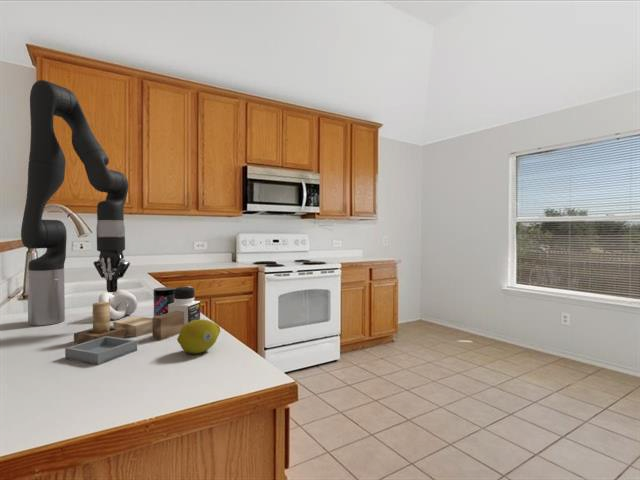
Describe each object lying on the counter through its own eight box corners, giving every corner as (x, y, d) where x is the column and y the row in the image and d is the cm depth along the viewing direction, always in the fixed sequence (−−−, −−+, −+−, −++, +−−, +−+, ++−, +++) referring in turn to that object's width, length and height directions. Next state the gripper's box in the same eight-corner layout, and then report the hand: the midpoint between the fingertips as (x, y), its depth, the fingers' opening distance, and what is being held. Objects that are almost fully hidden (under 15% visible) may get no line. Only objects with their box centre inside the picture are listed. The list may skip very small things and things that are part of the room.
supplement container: (150, 319, 123) (150, 288, 123) (171, 316, 127) (171, 286, 127) (157, 323, 118) (156, 291, 118) (178, 319, 122) (178, 289, 122)
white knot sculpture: (139, 312, 133) (139, 287, 133) (135, 319, 122) (135, 293, 122) (104, 314, 129) (103, 289, 129) (96, 322, 118) (96, 295, 118)
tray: (65, 358, 85) (65, 348, 85) (106, 345, 95) (106, 335, 95) (98, 365, 81) (98, 353, 81) (137, 350, 91) (137, 340, 91)
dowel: (89, 340, 99) (89, 304, 98) (102, 336, 102) (102, 301, 102) (100, 342, 97) (99, 305, 97) (113, 338, 101) (113, 302, 101)
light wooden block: (113, 333, 107) (113, 321, 107) (137, 327, 114) (137, 316, 114) (136, 338, 103) (136, 325, 103) (160, 331, 110) (159, 319, 110)
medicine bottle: (188, 328, 112) (188, 289, 111) (167, 327, 113) (167, 288, 113) (200, 322, 119) (200, 286, 118) (180, 321, 120) (180, 285, 120)
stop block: (152, 339, 101) (152, 317, 100) (176, 330, 109) (175, 310, 109) (161, 340, 100) (160, 318, 99) (184, 331, 108) (184, 311, 108)
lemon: (181, 361, 84) (180, 326, 84) (172, 351, 90) (172, 319, 90) (226, 352, 90) (226, 320, 90) (215, 344, 97) (215, 314, 96)
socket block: (74, 342, 97) (73, 333, 97) (104, 333, 106) (104, 325, 106) (98, 346, 94) (98, 336, 94) (127, 336, 102) (127, 328, 102)
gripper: (83, 235, 110) (85, 292, 110) (116, 235, 105) (117, 295, 106) (106, 235, 117) (107, 289, 117) (137, 235, 112) (138, 291, 113)
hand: (112, 292), depth 111 cm, fingers closed
